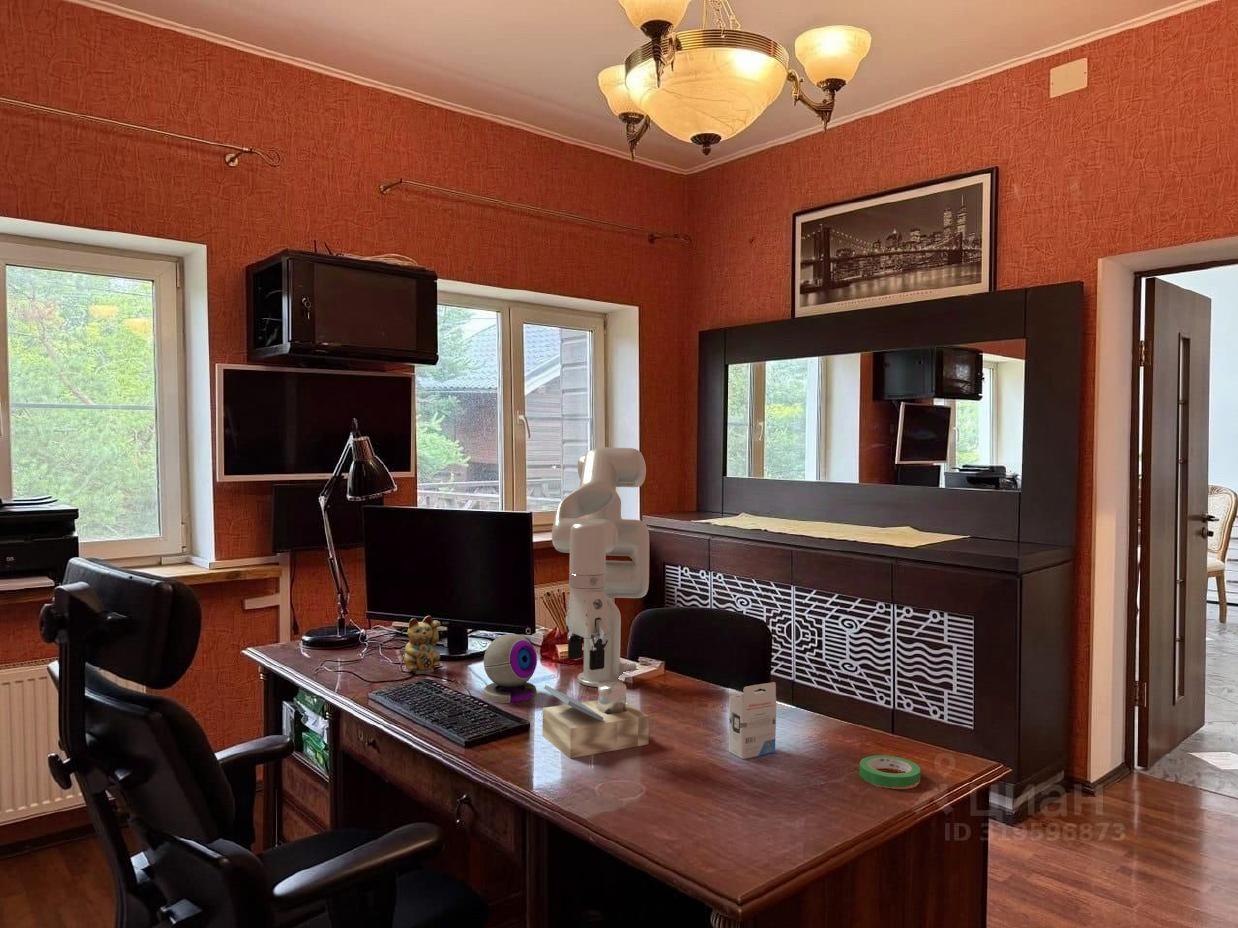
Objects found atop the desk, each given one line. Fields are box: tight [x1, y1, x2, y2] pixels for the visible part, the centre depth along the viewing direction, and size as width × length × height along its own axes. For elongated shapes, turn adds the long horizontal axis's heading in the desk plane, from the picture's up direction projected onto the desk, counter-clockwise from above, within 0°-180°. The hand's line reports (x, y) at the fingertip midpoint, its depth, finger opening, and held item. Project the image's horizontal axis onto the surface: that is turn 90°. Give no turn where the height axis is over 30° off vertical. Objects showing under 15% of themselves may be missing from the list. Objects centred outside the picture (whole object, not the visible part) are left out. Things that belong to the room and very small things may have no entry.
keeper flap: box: [543, 684, 603, 721], centre depth 178 cm, size 9×12×1 cm
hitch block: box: [541, 699, 650, 759], centre depth 180 cm, size 18×14×6 cm
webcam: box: [482, 633, 538, 704], centre depth 210 cm, size 13×13×15 cm
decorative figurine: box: [403, 615, 441, 675], centre depth 230 cm, size 10×8×15 cm
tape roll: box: [859, 754, 921, 787], centre depth 163 cm, size 11×11×3 cm
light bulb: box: [597, 682, 627, 714], centre depth 182 cm, size 6×6×10 cm
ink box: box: [728, 681, 777, 760], centre depth 175 cm, size 9×5×15 cm, turn 117°
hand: (585, 663), depth 178 cm, fingers open, 9 cm apart
